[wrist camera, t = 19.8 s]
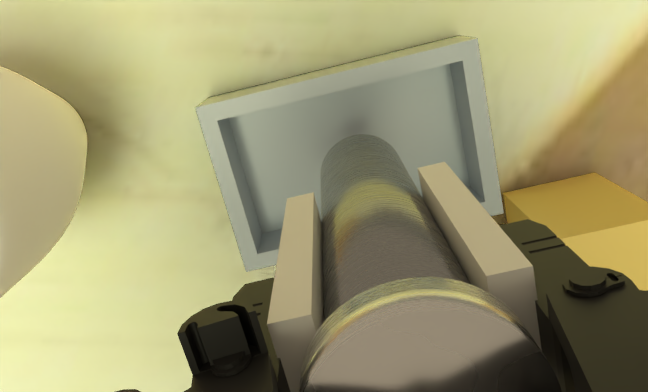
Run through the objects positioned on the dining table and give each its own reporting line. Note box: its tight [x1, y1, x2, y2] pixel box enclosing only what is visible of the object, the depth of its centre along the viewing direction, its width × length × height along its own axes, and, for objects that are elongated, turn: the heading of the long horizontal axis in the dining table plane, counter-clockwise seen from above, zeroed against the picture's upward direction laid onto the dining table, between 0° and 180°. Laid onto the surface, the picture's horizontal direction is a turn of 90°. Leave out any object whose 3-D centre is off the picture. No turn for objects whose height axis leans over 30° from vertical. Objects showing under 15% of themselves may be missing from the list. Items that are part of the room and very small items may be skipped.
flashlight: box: [299, 134, 562, 392], centre depth 14 cm, size 4×4×13 cm
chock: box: [503, 172, 648, 291], centre depth 25 cm, size 4×5×6 cm
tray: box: [195, 36, 504, 272], centre depth 25 cm, size 11×7×3 cm, turn 104°
